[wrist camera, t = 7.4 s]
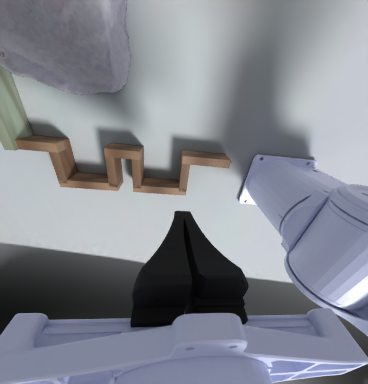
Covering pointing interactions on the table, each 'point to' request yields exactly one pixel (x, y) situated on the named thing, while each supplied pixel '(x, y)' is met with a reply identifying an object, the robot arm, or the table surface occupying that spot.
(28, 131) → the trap lane
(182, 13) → the table surface
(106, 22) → the stone block
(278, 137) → the table surface
